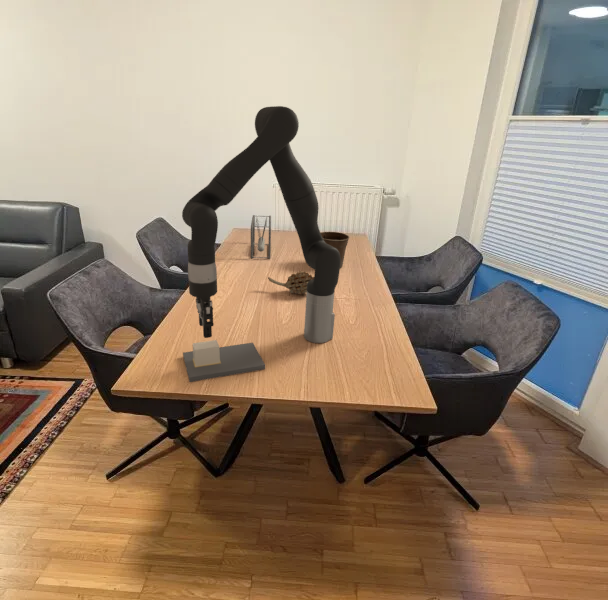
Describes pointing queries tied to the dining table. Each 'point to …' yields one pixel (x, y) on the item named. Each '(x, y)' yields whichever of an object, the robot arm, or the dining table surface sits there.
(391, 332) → the dining table surface
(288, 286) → the pine cone
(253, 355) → the board
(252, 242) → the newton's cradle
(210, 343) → the block
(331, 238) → the plant pot
